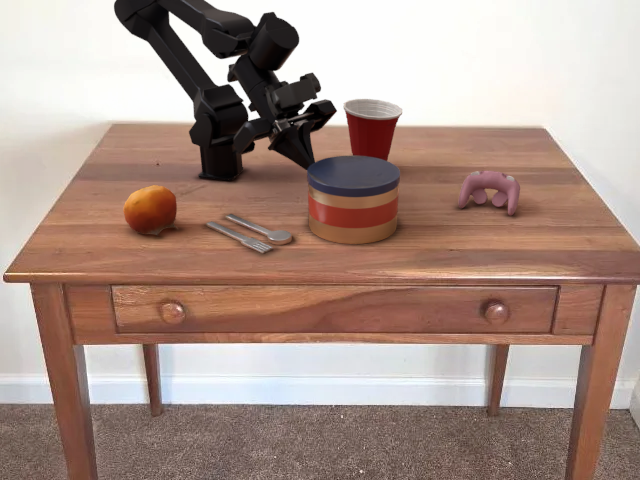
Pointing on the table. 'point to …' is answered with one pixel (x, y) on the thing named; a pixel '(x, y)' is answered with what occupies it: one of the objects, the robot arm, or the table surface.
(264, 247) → the fork
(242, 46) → the robot arm
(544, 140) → the table surface
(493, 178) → the video game controller
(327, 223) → the tin
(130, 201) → the fruit
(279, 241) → the spoon
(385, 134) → the plastic cup
